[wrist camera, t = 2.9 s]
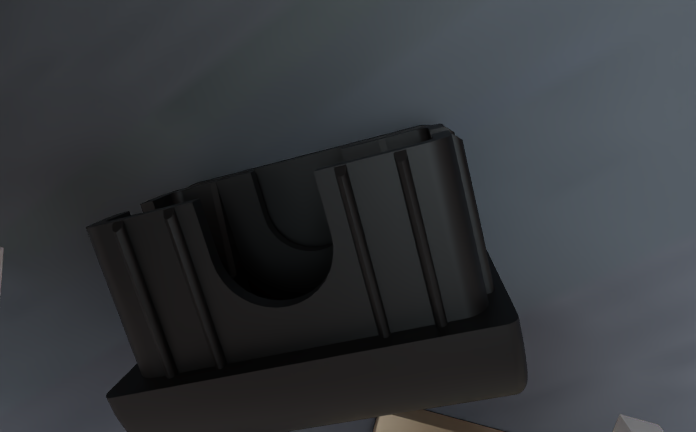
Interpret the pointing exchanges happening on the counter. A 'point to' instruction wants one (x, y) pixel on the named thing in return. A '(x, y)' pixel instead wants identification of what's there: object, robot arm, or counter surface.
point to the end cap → (311, 293)
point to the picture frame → (425, 423)
